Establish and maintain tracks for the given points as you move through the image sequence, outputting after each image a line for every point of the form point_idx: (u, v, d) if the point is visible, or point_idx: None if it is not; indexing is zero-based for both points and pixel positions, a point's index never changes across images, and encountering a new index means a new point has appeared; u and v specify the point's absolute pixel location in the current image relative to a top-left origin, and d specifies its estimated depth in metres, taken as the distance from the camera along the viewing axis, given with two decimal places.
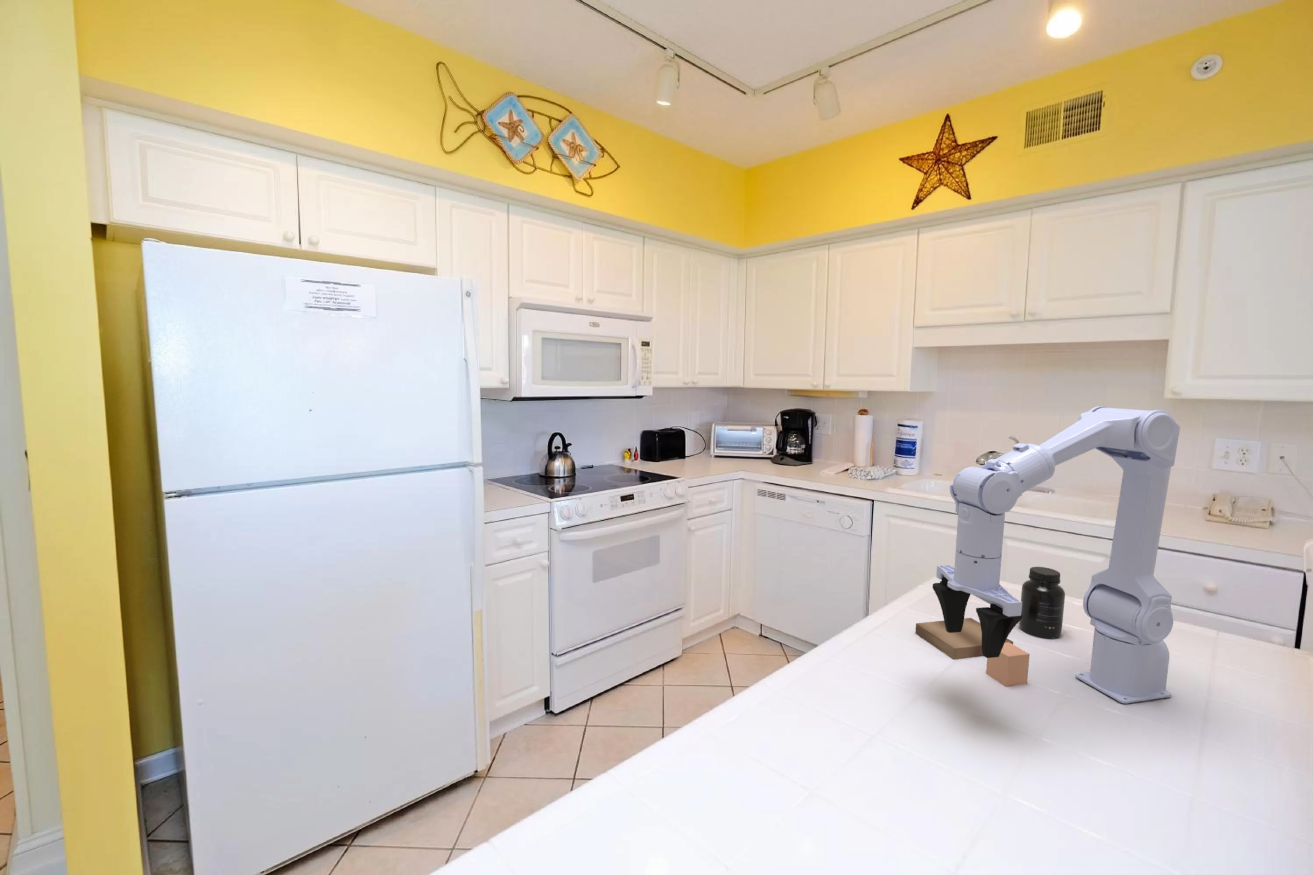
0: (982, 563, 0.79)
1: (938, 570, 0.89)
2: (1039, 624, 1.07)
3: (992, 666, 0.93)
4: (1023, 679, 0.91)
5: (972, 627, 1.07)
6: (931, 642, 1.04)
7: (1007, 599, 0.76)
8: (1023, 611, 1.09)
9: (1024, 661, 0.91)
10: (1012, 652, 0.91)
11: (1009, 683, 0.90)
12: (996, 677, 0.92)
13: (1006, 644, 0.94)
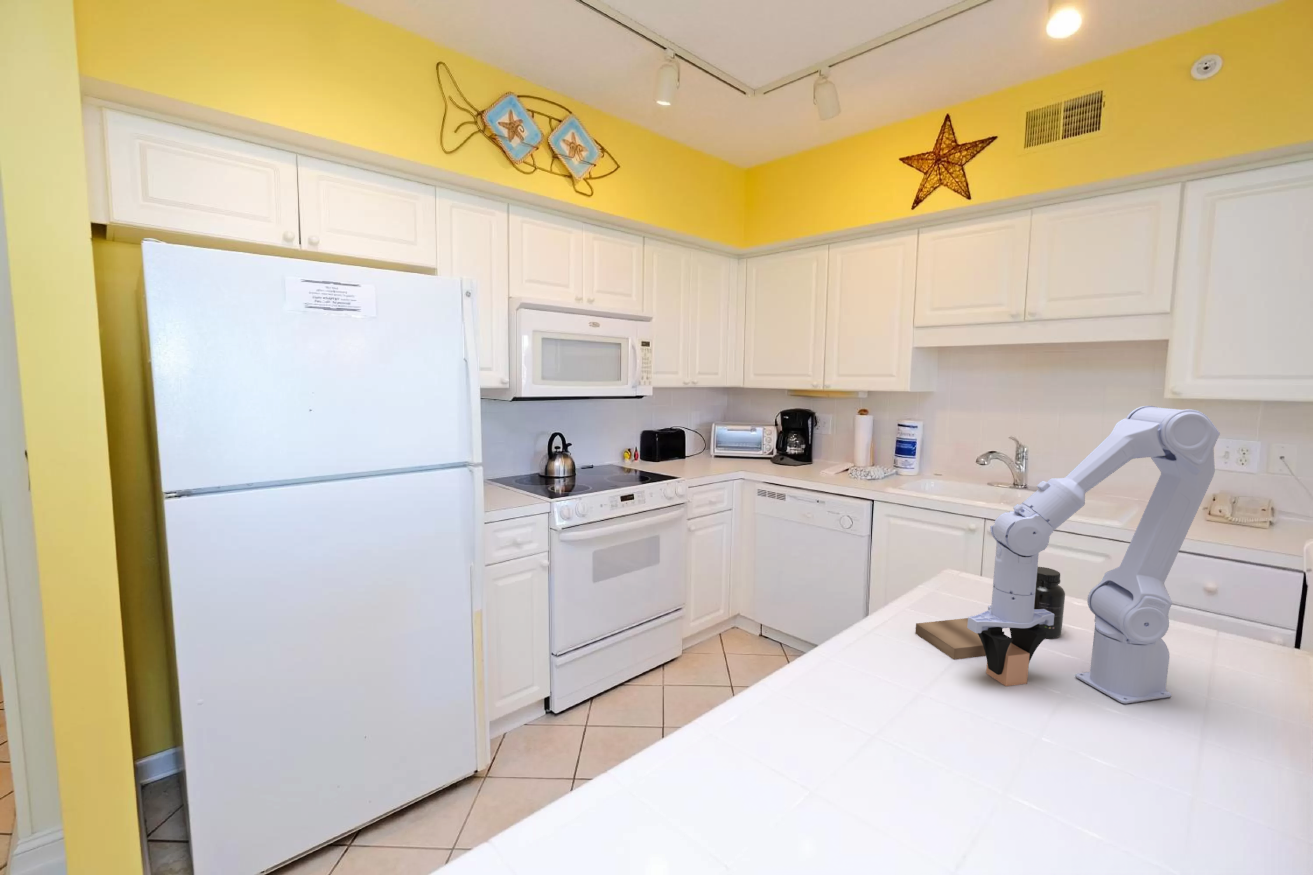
0: (993, 590, 0.92)
1: None
2: None
3: None
4: (1023, 679, 0.91)
5: None
6: (931, 642, 1.04)
7: (978, 618, 0.90)
8: None
9: (1024, 661, 0.91)
10: (1012, 651, 0.91)
11: (1009, 683, 0.90)
12: (996, 677, 0.92)
13: None
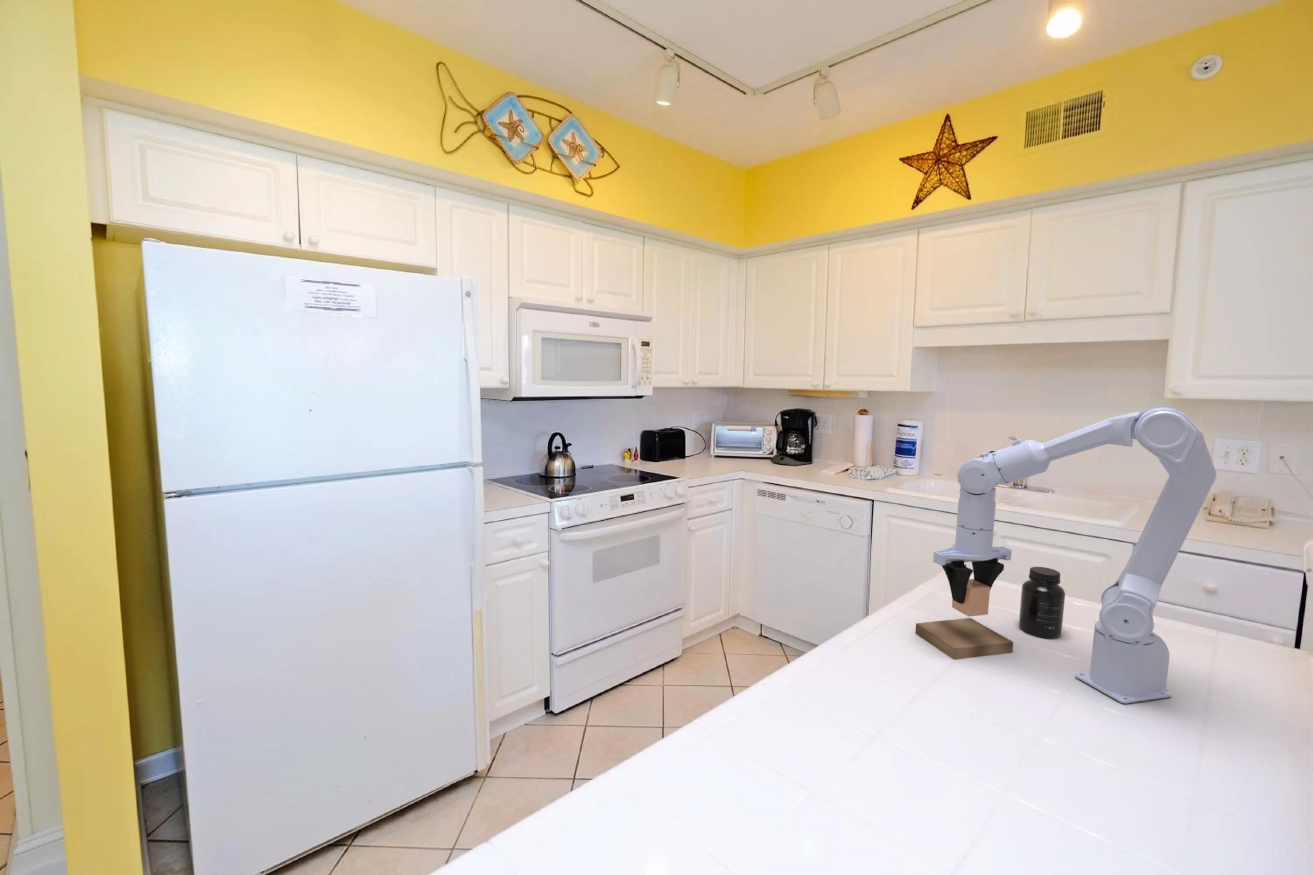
0: (956, 528, 1.02)
1: None
2: (1039, 624, 1.07)
3: None
4: (984, 610, 1.01)
5: (972, 627, 1.07)
6: (931, 642, 1.04)
7: (943, 553, 1.00)
8: (1023, 611, 1.09)
9: (985, 594, 1.00)
10: (974, 585, 1.01)
11: (971, 613, 1.00)
12: (960, 609, 1.02)
13: (969, 580, 1.03)
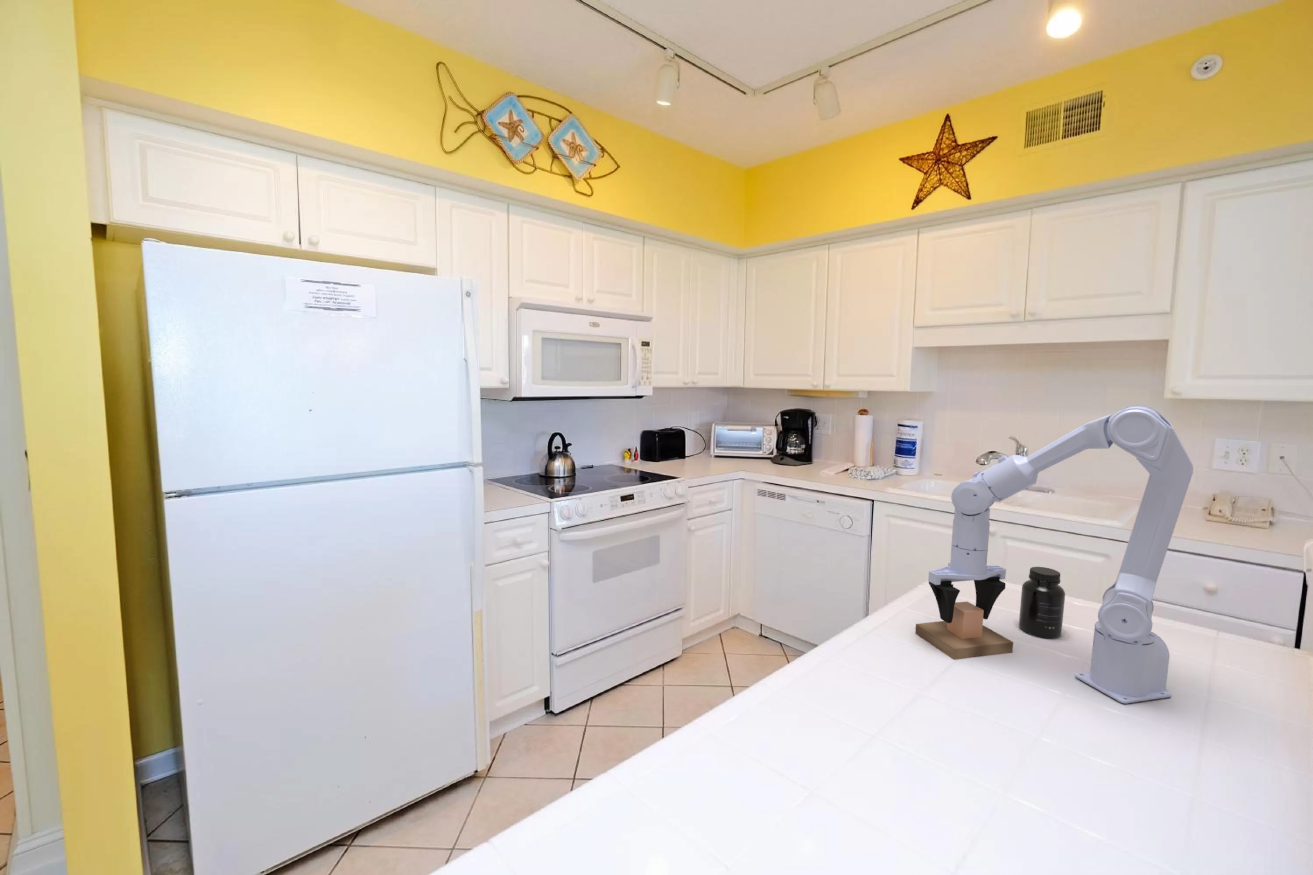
0: (951, 548, 1.03)
1: None
2: (1039, 624, 1.07)
3: (951, 622, 1.05)
4: (978, 633, 1.03)
5: None
6: (931, 643, 1.04)
7: None
8: (1023, 611, 1.09)
9: (979, 617, 1.02)
10: (968, 608, 1.03)
11: (965, 636, 1.02)
12: (954, 631, 1.04)
13: (964, 603, 1.05)
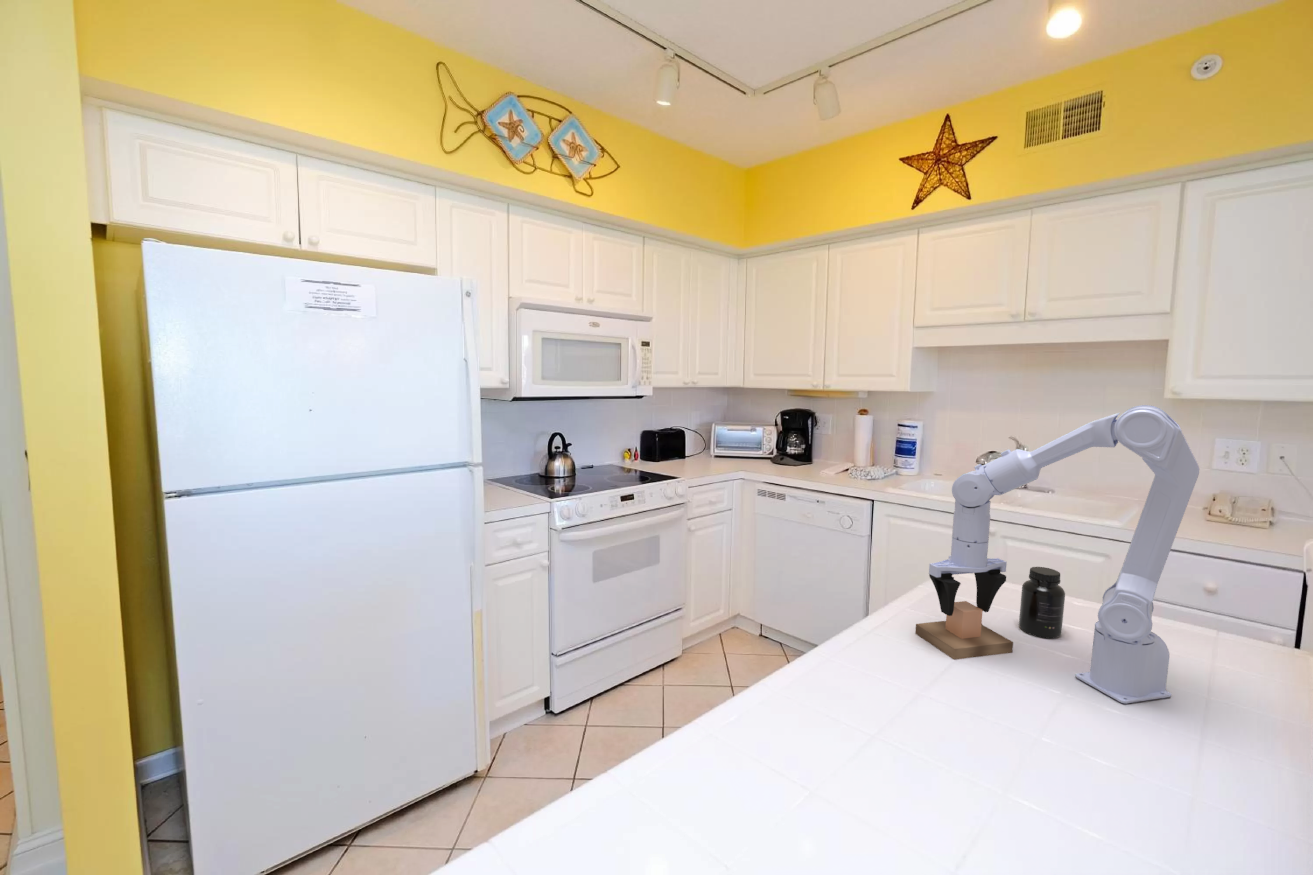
0: (952, 541, 1.03)
1: None
2: (1039, 624, 1.07)
3: (950, 621, 1.05)
4: (977, 632, 1.03)
5: None
6: (931, 643, 1.04)
7: (938, 565, 1.02)
8: (1023, 611, 1.09)
9: (978, 616, 1.02)
10: (967, 608, 1.03)
11: (964, 635, 1.02)
12: (953, 631, 1.04)
13: (963, 602, 1.05)
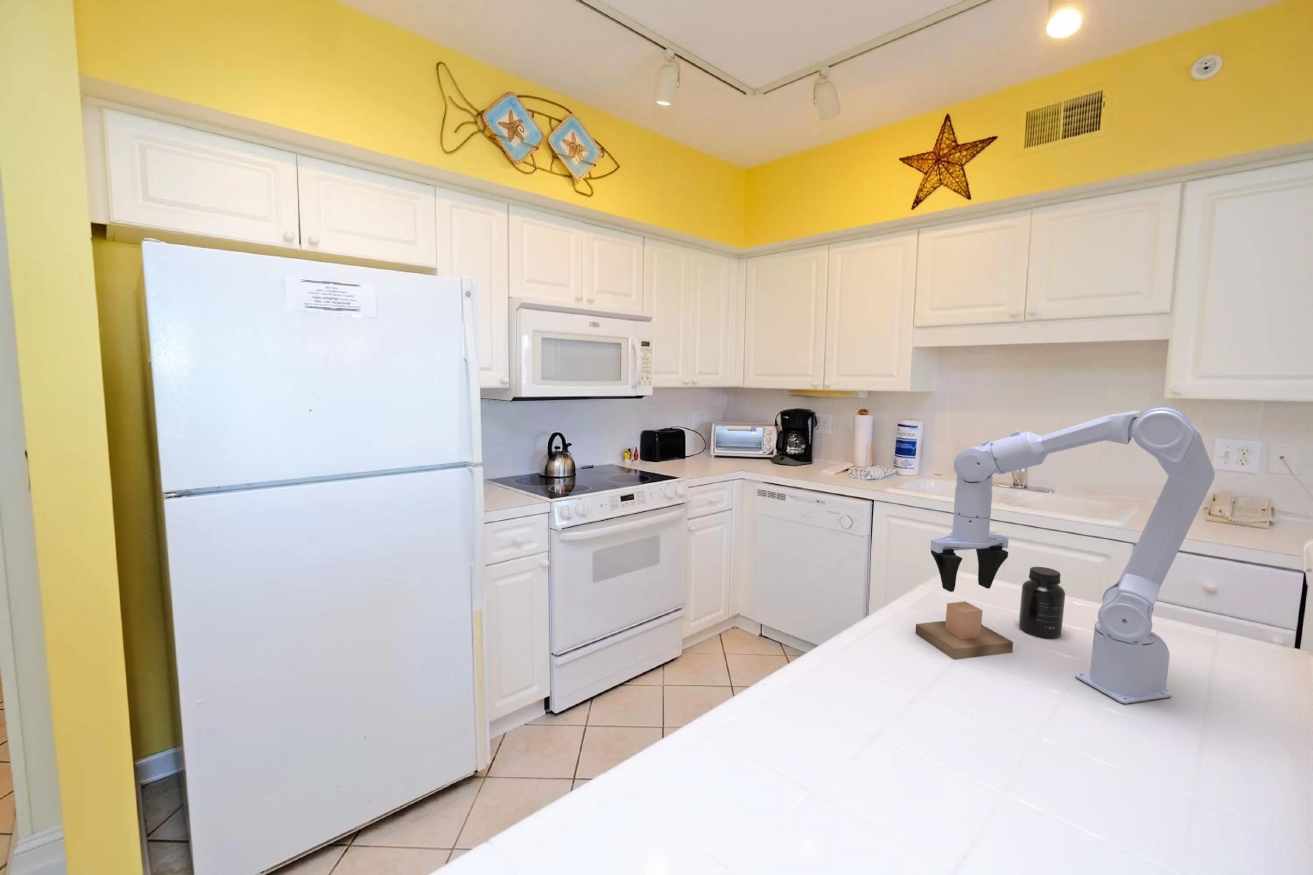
0: (954, 517, 1.03)
1: None
2: (1039, 624, 1.07)
3: (950, 622, 1.04)
4: (977, 632, 1.03)
5: None
6: (931, 643, 1.04)
7: None
8: (1023, 611, 1.09)
9: (978, 616, 1.02)
10: (967, 608, 1.03)
11: (965, 636, 1.02)
12: (953, 631, 1.04)
13: (962, 603, 1.05)
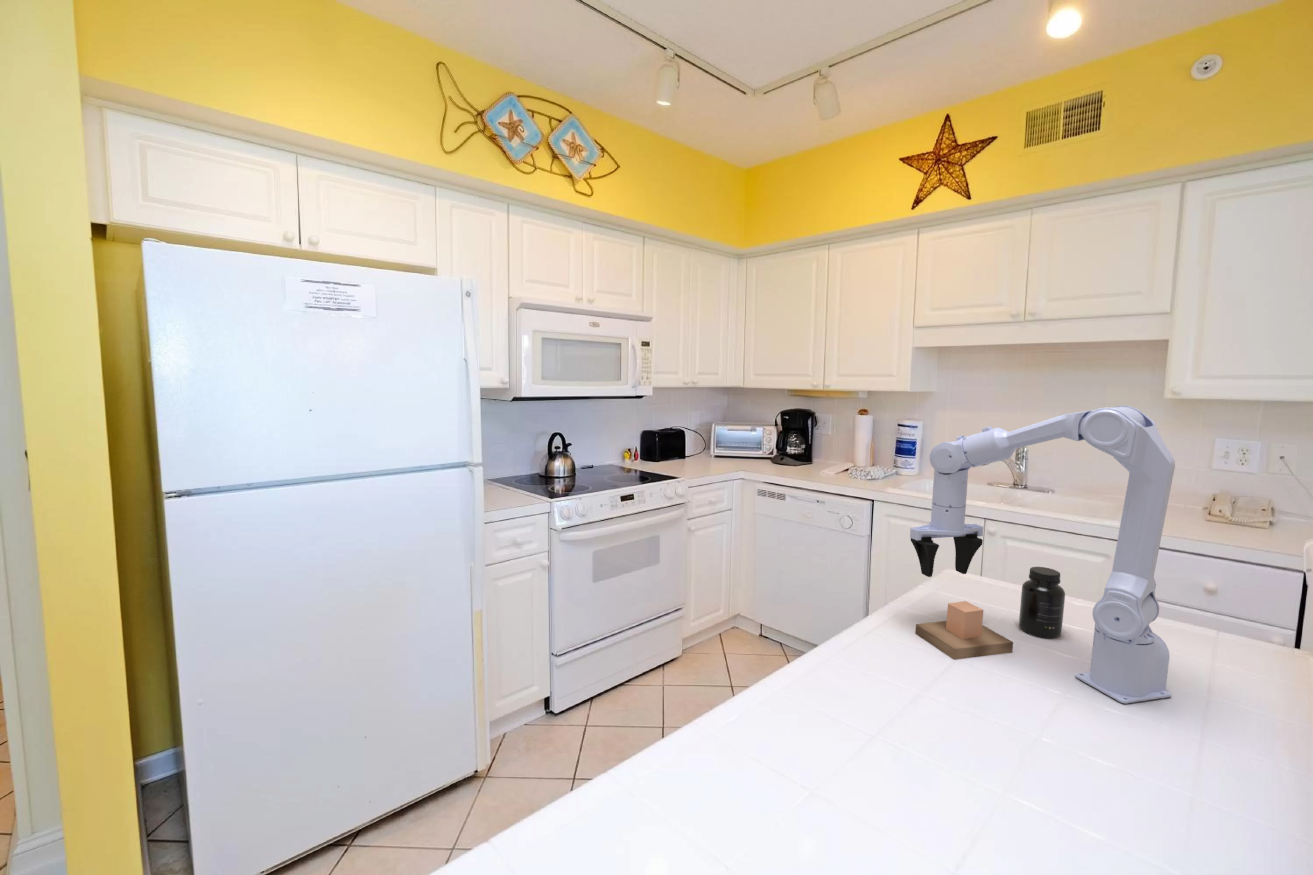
0: (932, 507, 1.10)
1: None
2: (1039, 624, 1.07)
3: (951, 622, 1.05)
4: (978, 632, 1.03)
5: None
6: (931, 643, 1.04)
7: (919, 529, 1.08)
8: (1023, 611, 1.09)
9: (979, 616, 1.02)
10: (968, 608, 1.03)
11: (966, 636, 1.02)
12: (955, 631, 1.04)
13: (963, 602, 1.05)
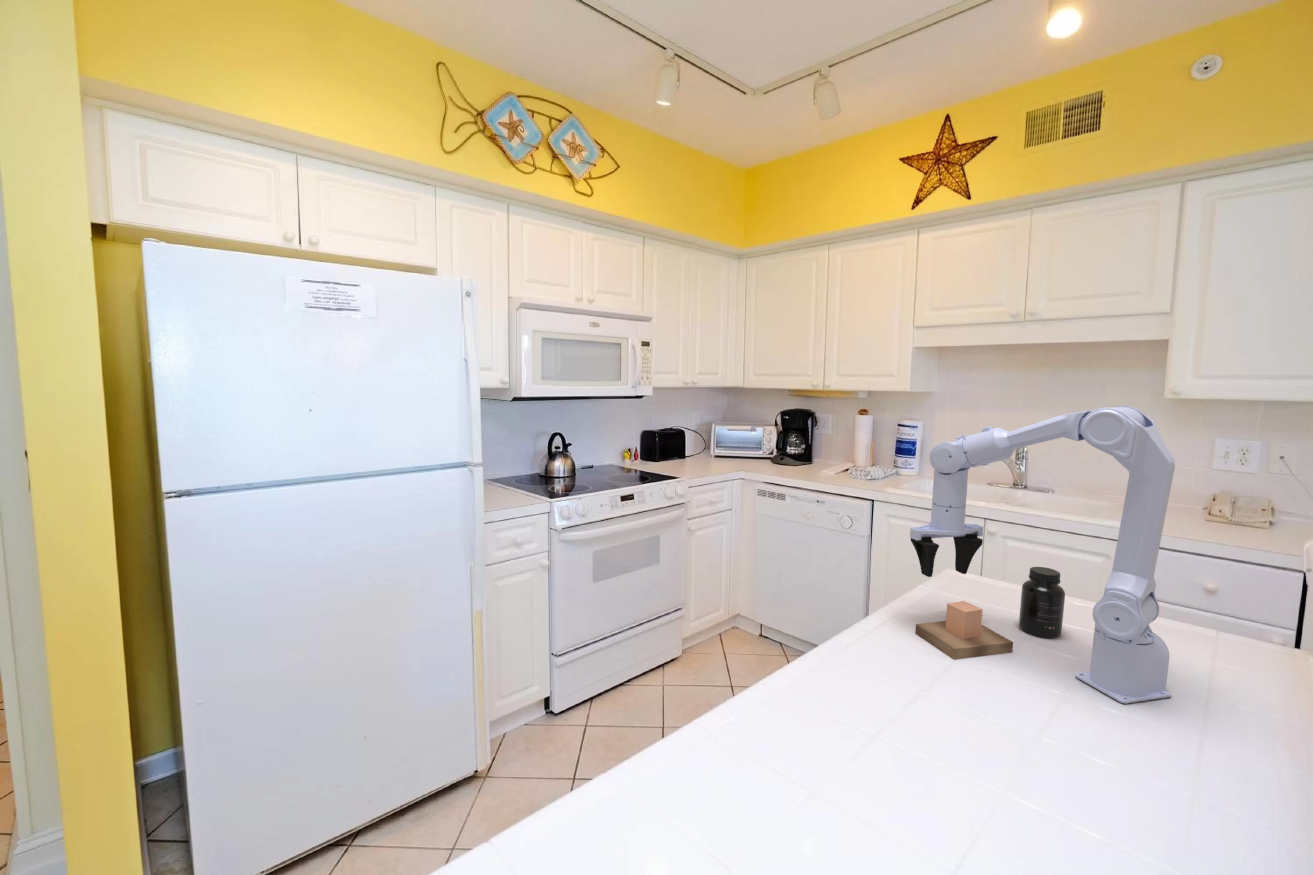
0: (932, 507, 1.10)
1: None
2: (1039, 624, 1.07)
3: (950, 622, 1.04)
4: (977, 632, 1.03)
5: None
6: (931, 643, 1.04)
7: (919, 529, 1.08)
8: (1023, 611, 1.09)
9: (978, 616, 1.03)
10: (967, 608, 1.03)
11: (966, 636, 1.02)
12: (954, 632, 1.04)
13: (961, 602, 1.06)
